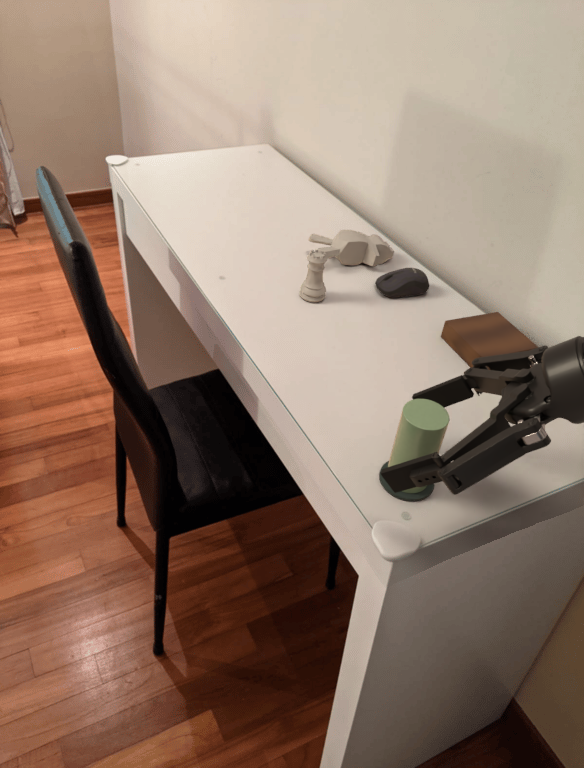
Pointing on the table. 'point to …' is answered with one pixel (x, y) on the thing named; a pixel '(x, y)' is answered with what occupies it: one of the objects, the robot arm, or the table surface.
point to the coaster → (403, 495)
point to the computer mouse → (403, 283)
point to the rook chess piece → (314, 278)
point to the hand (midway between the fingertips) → (404, 440)
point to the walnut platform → (484, 337)
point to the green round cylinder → (419, 433)
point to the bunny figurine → (355, 248)
